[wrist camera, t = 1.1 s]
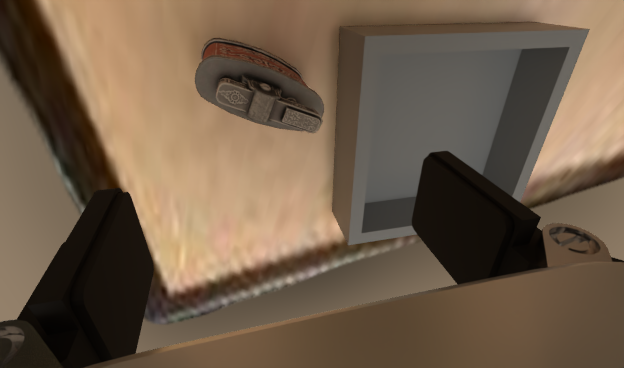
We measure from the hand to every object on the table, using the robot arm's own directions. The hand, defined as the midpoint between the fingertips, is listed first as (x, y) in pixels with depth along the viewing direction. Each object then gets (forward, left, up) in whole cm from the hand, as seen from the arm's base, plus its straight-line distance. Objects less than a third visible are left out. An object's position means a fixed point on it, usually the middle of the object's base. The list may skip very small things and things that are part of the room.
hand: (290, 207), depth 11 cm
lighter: (0, 0, -19) cm, 19 cm away
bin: (-16, +6, -19) cm, 26 cm away
